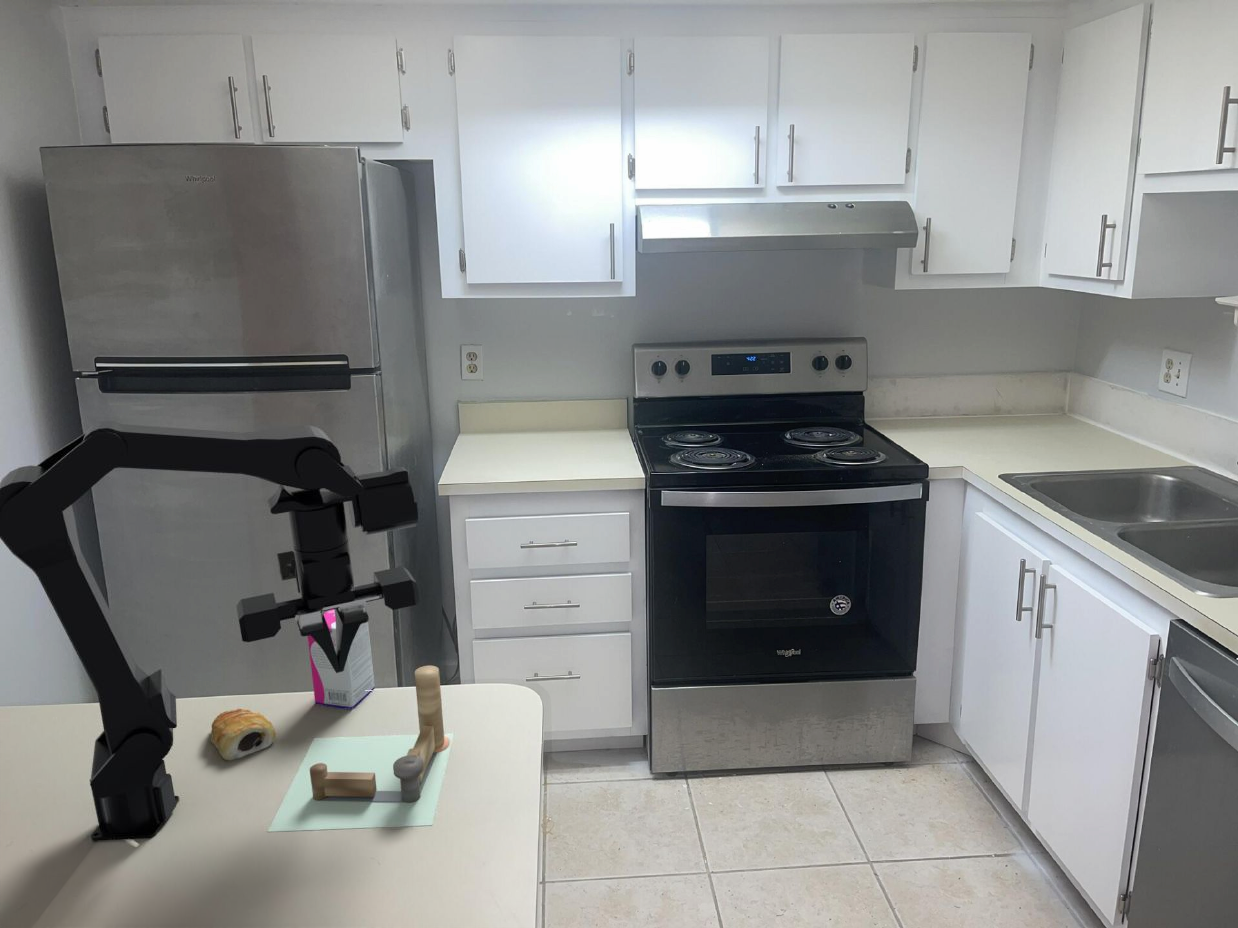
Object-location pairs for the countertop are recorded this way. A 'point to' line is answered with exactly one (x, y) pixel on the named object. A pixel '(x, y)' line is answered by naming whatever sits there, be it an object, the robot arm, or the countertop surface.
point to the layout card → (362, 811)
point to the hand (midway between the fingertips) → (339, 670)
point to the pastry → (241, 733)
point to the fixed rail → (355, 784)
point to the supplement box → (355, 677)
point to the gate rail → (424, 725)
